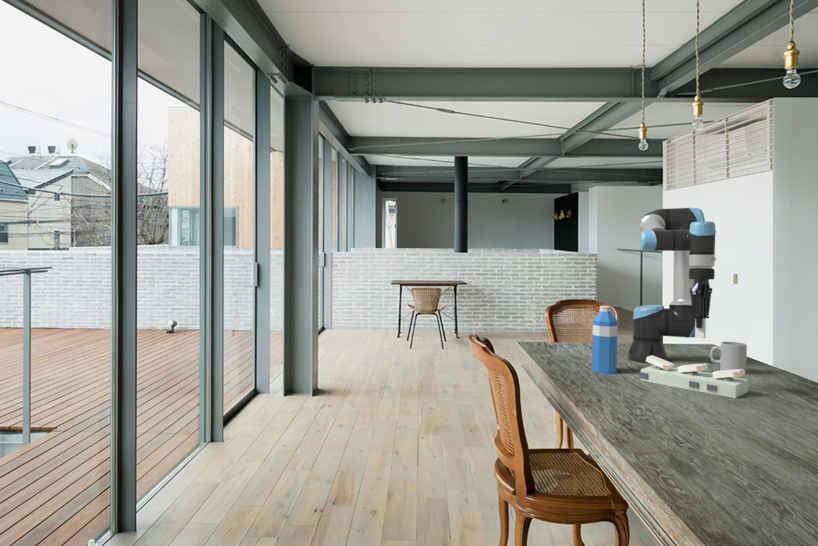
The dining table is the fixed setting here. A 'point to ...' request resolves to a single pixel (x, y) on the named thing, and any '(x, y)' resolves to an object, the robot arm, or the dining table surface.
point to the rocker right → (728, 373)
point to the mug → (731, 355)
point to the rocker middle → (692, 367)
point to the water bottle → (604, 342)
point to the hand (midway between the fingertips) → (700, 337)
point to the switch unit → (696, 381)
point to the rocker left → (659, 362)
